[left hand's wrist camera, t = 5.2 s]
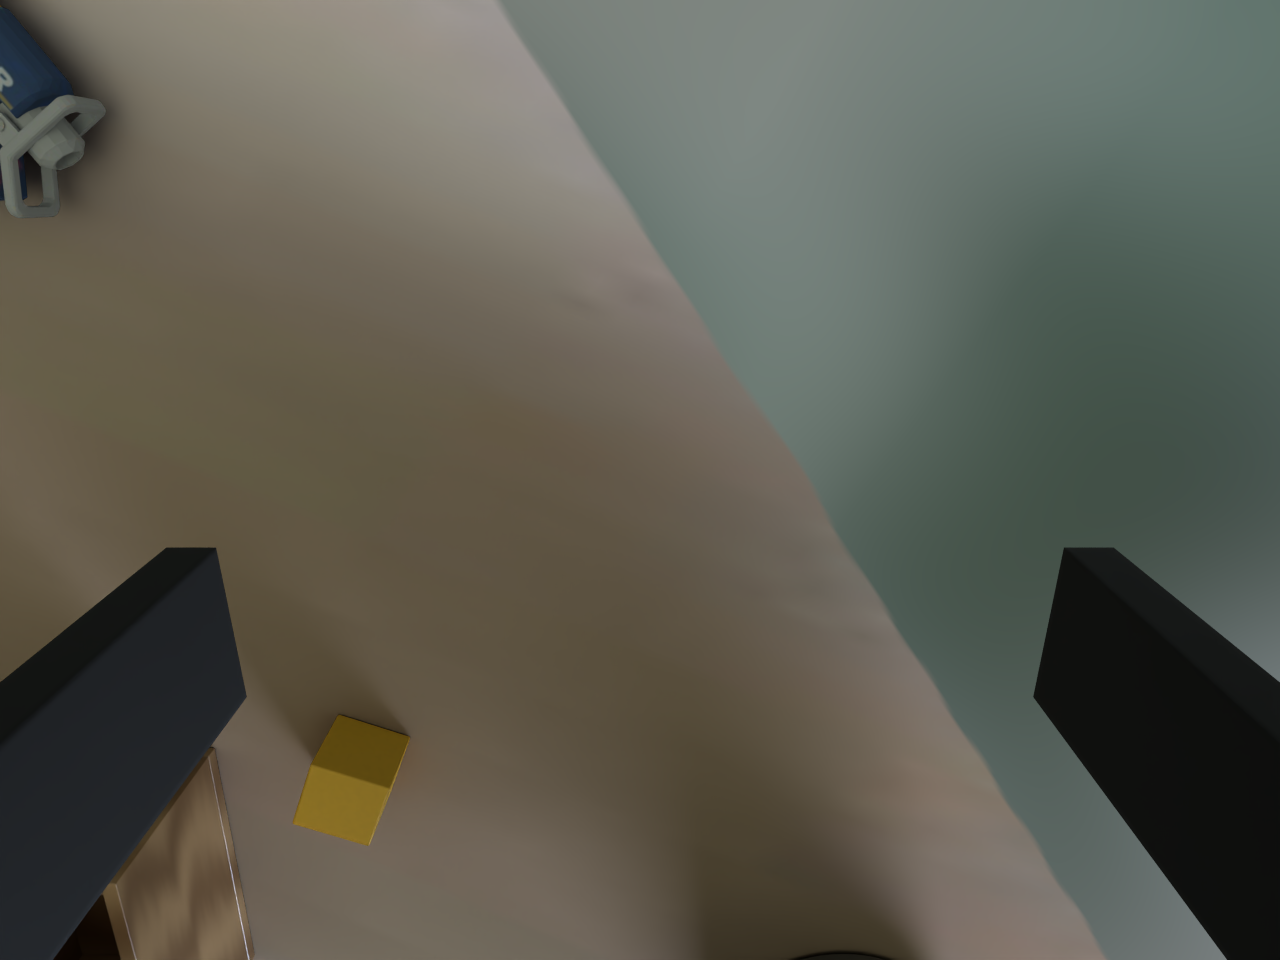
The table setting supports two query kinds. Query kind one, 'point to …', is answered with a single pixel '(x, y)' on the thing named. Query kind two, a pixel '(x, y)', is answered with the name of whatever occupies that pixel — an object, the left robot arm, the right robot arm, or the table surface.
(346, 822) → the block
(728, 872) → the table surface
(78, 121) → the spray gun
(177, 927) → the chest
